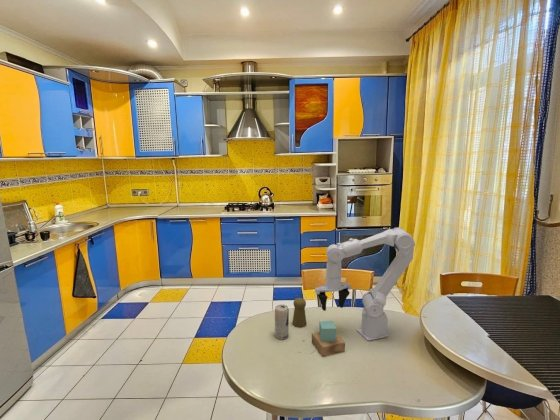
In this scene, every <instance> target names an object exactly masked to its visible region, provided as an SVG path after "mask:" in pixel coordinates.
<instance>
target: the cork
mask: <svg viewBox="0 0 560 420" xmlns="http://www.w3.org/2000/svg"><path fill="white" fill-rule="evenodd" d="M306 306H307V301H306V300H305V299H304V298H303V297H297V298H294V300H293V307H294V308H293V309H294V310H293V316H292V323H291V324H292V326H293V327H295V328H299V329H302V328H304V327H307V324H308V323H307V317H306V308H305V307H306Z"/></svg>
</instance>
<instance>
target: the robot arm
mask: <svg viewBox="0 0 560 420" xmlns="http://www.w3.org/2000/svg"><path fill="white" fill-rule="evenodd" d="M384 244H385V245H387V246H390V247H394V249H395V252H396V256H395V257H394V258H393V260H392V261H391V263H390V265H389V266H388V267H387V269H386V270H385V271H384V274H383V275H382V276H381V277H380V279H379V281H377V283H376V285H375V286H373V287H372V288H370V289H369V291H367V292H366V293H364V294H363V295H362V297H361V303H362V304H363V308H362V309H361V311H362V313H361V327H359V328H356V331H357V332H358V333H359V334H360V335H361V336H362V337H363V338H364V339H365V340H367V341H370V342H371V341H374V340H377V339H378V340H379V339H383V338H388V337H389V334H387V333H388V316H387V314H386V313H385V312H384V307H385V306H386V305H387V296H388V295H389V294H390V292H391V291H392V289H393V288H394V286H395V285H396V284H397V282H398V280H400V278H401V276H402V275H403V274H404V272H406V269H407V268H408V267H409V265H410V264H411V262H412V261H413V259H414V249H415V246H416V242H415V240H414V238H413V235H411V234H410V233H408V232H406V231H405V229H403V228H402V227H398V226H397V227H394V228H389V229H386V230H384V231H381V232H380V233H377V234H374V235H372V236H369V237H366V238H363V239H361V240H360V239H357V238H352V237H351V238H349V239H348V240H346V241H344V242H338V243H336V244H335V243H333V244H330V245H329V246H328V247H326V251H325V253H326V256H327V258H326V269H325V271H326V272H325V273H326V275H325V284H324V285H320V286H318V287H315V288H314V289H315V291H314V292H315V294H316V296H317V297H318V298H319V302H320V305H321V309H322V310H323V312H325V311H327V300H328V298H329V297H328V296H327V294H326V293H331V292H338V306H339V307H340V308H341V309H342V308H344V305H345V303H346V300H347V298H348V296H350V290H351V284H350V283H349V282H344V283H341V282H342V260H343V259H346V258H349V257H352V256H356V255H359V254H361V253H362V251H363V250H364V249H368V248H372V247H375V246H379V245H384Z"/></svg>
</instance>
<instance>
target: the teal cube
mask: <svg viewBox="0 0 560 420" xmlns="http://www.w3.org/2000/svg"><path fill="white" fill-rule="evenodd" d="M318 323H319V327H318V328H319V329H318V332H319V335H320V339H321V342H336V333H337V327H336V325H335V322H334V320H319V322H318Z"/></svg>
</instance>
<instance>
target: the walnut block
mask: <svg viewBox="0 0 560 420" xmlns="http://www.w3.org/2000/svg"><path fill="white" fill-rule="evenodd" d="M311 343H312V345H313V346H314V347H315V349H316V350H317V351H318V353H319V354H320V356H321V357H322V358H324V357H327V356H333V355H336V354H340V353H344V352H346V342H345V341H344V340H343V339H342V337H341V336H340V335H339V334H338V333H337V332H336V342H321V339H320V335H319V331H317V332H313V333H311Z"/></svg>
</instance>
